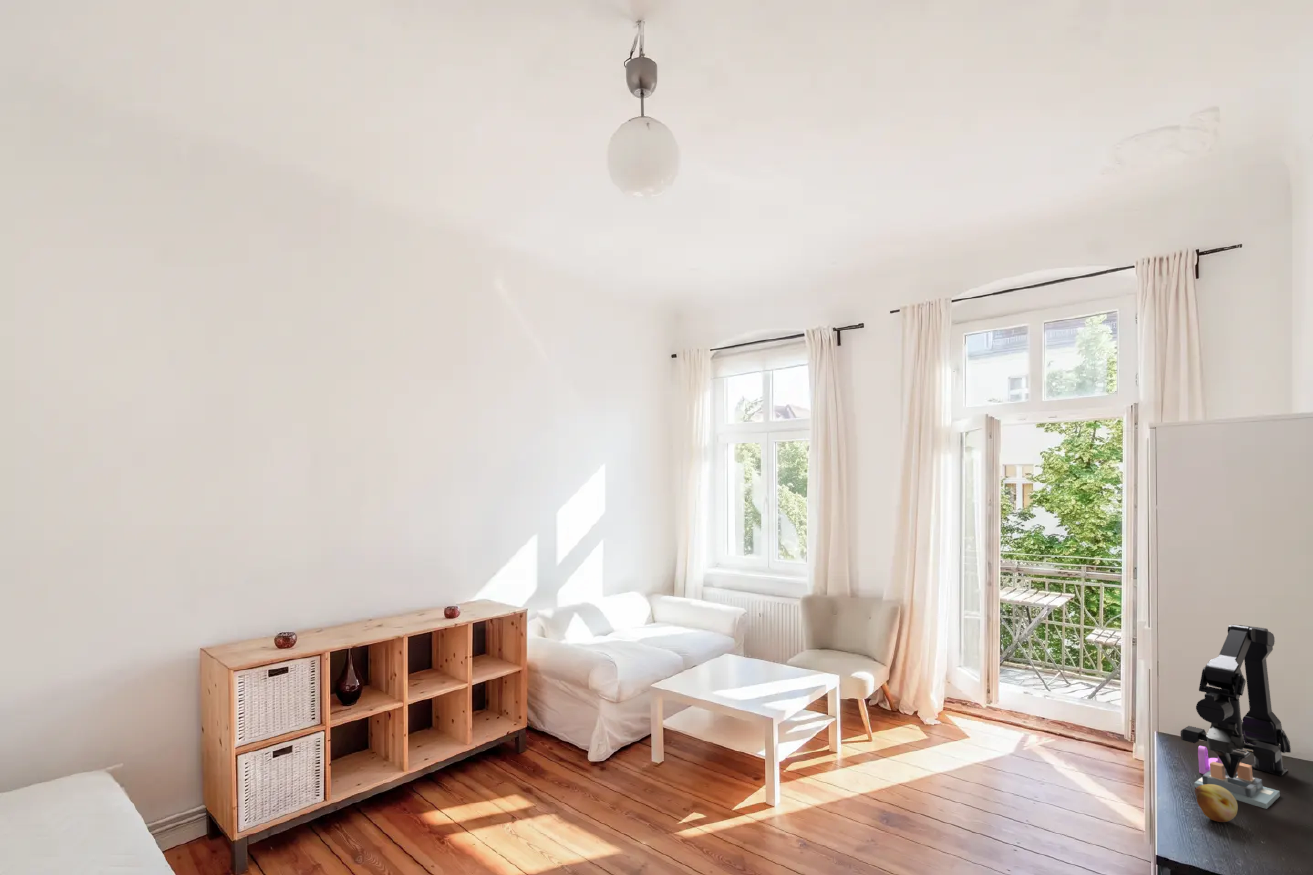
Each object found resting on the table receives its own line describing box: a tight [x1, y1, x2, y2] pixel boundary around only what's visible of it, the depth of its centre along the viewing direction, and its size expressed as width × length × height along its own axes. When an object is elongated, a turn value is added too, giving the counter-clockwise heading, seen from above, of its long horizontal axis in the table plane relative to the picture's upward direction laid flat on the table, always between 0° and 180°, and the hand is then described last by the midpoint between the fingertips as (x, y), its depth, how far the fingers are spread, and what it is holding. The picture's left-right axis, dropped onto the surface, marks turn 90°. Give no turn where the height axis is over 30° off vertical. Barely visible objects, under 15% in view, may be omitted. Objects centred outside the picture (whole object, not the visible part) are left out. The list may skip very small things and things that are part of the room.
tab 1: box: [1209, 762, 1228, 782], centre depth 165 cm, size 3×3×5 cm
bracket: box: [1197, 745, 1226, 775], centre depth 177 cm, size 13×6×7 cm, turn 128°
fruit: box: [1194, 784, 1239, 823], centre depth 149 cm, size 8×8×8 cm
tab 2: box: [1236, 762, 1256, 782], centre depth 164 cm, size 3×3×5 cm
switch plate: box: [1194, 770, 1281, 810], centre depth 164 cm, size 12×14×3 cm
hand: (1231, 777), depth 163 cm, fingers closed
